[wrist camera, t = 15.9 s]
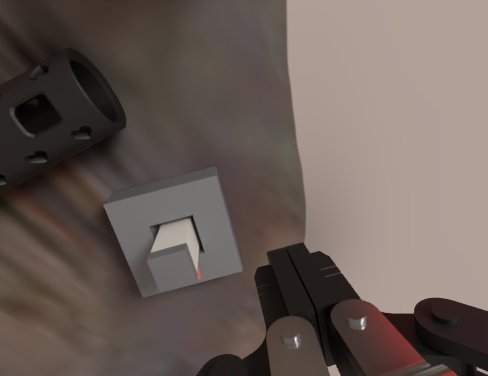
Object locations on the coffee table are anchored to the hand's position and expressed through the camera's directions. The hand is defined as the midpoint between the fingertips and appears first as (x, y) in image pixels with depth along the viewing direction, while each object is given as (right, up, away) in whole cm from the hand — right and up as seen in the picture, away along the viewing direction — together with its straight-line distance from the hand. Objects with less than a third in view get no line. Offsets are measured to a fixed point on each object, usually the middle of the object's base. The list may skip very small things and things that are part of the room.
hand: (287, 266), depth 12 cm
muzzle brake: (-30, +9, +25) cm, 40 cm away
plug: (-10, -2, +29) cm, 31 cm away
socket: (-11, -2, +30) cm, 32 cm away
